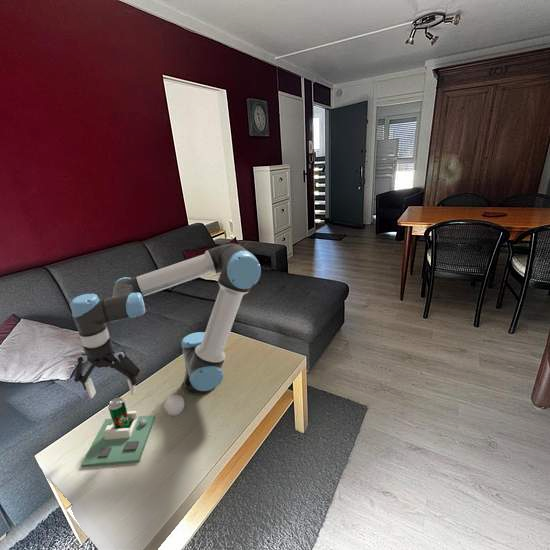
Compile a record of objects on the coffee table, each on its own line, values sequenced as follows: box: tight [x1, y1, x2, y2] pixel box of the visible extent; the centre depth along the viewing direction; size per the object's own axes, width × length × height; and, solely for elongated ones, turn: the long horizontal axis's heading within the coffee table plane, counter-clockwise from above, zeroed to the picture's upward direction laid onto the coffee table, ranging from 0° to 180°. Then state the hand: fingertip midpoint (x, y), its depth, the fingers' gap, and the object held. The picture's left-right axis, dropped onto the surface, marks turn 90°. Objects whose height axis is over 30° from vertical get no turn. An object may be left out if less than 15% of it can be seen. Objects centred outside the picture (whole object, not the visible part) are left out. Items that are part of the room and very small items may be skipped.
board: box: [80, 410, 156, 468], centre depth 105 cm, size 18×18×5 cm
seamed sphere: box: [156, 394, 185, 416], centre depth 115 cm, size 10×7×7 cm
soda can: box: [108, 397, 130, 429], centre depth 107 cm, size 5×5×12 cm
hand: (113, 393), depth 103 cm, fingers open, 13 cm apart
